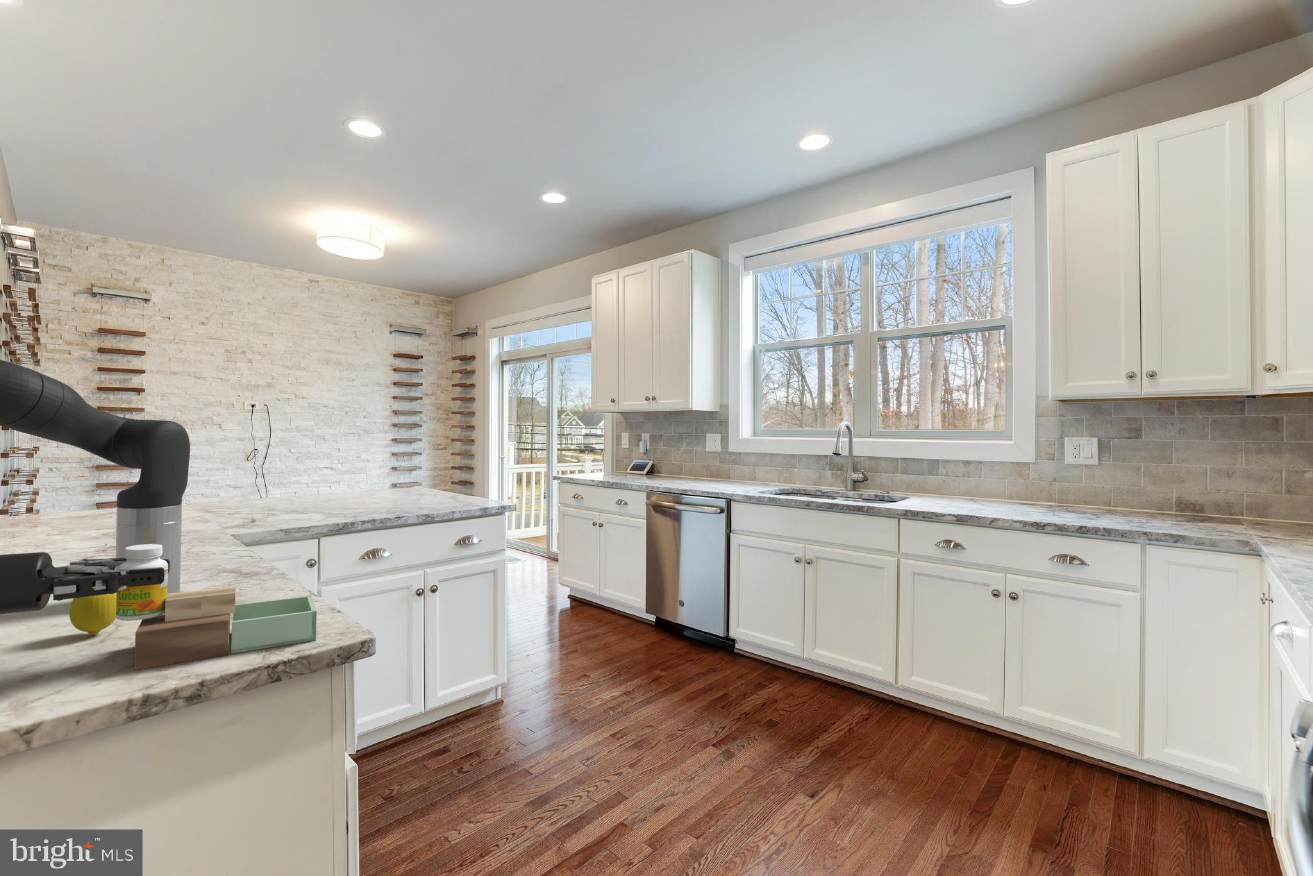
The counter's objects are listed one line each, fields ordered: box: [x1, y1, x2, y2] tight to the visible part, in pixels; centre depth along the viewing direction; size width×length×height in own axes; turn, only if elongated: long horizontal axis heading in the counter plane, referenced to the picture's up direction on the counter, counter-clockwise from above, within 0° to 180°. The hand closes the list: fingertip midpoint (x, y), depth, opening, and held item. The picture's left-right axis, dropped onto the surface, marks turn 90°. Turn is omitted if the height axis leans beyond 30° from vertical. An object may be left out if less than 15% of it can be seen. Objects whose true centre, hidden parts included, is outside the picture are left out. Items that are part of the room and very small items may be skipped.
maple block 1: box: [165, 589, 204, 622], centre depth 85 cm, size 4×4×3 cm
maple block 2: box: [201, 586, 237, 617], centre depth 87 cm, size 4×4×3 cm
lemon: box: [68, 587, 117, 636], centre depth 90 cm, size 6×6×8 cm
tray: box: [230, 595, 317, 654], centre depth 91 cm, size 10×11×4 cm
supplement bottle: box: [116, 544, 168, 622], centre depth 82 cm, size 5×5×10 cm
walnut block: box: [134, 613, 231, 670], centre depth 85 cm, size 11×10×5 cm
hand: (166, 570), depth 84 cm, fingers closed on supplement bottle, 5 cm apart
